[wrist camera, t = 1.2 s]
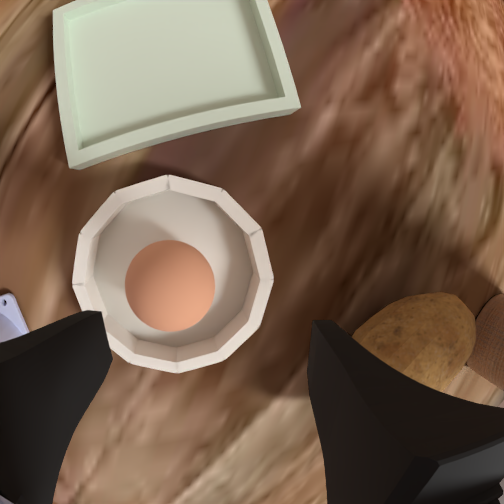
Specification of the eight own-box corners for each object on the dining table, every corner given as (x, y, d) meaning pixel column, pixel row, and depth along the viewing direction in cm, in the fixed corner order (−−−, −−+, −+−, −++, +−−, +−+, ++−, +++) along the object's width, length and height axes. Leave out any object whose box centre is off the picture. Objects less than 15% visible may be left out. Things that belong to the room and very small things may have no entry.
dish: (123, 368, 20) (118, 387, 18) (64, 211, 17) (49, 214, 15) (277, 325, 22) (288, 339, 19) (236, 158, 19) (243, 154, 17)
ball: (147, 319, 19) (138, 358, 14) (122, 247, 18) (101, 266, 13) (220, 299, 20) (232, 332, 15) (198, 224, 19) (203, 235, 14)
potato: (272, 376, 22) (309, 447, 15) (400, 249, 23) (474, 273, 15) (336, 425, 25) (376, 481, 17) (440, 320, 25) (498, 352, 18)
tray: (80, 169, 17) (69, 168, 15) (61, 22, 14) (53, 10, 12) (290, 114, 19) (301, 107, 17) (247, -22, 16) (253, -36, 14)
